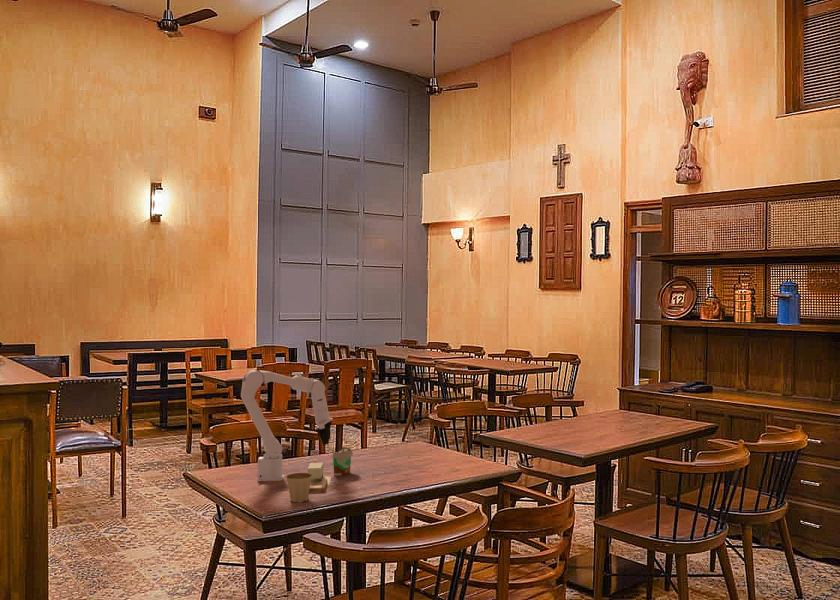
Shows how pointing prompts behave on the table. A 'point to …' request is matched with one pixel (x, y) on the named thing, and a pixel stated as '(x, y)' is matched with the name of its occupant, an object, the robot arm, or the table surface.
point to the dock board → (319, 485)
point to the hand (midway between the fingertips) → (326, 442)
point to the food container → (342, 461)
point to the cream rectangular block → (316, 470)
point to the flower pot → (299, 486)
